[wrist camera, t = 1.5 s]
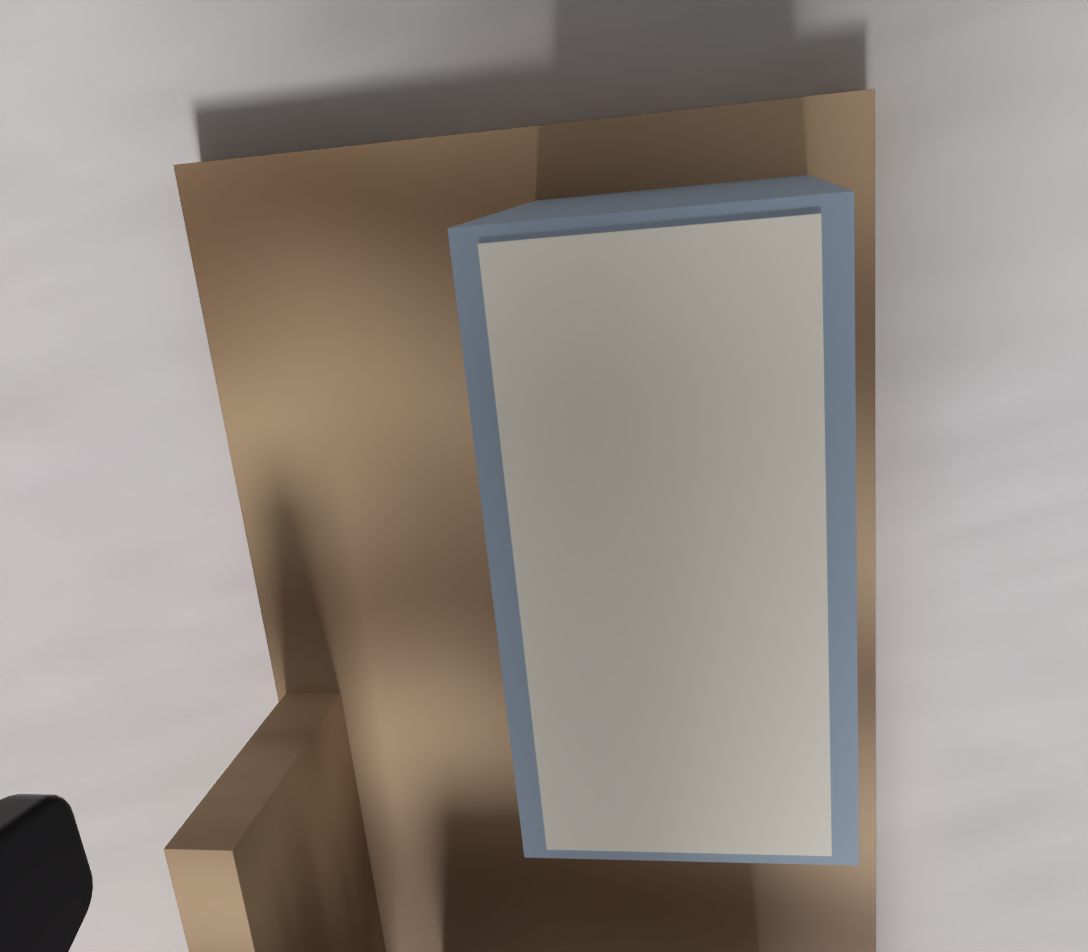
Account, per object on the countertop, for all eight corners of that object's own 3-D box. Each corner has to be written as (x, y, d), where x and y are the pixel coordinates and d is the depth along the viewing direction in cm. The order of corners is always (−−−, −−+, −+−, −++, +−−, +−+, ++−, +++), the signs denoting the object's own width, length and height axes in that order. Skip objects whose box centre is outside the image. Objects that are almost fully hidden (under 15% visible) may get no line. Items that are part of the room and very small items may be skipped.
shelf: (869, 1004, 22) (919, 1291, 17) (354, 979, 25) (246, 1226, 19) (866, 91, 17) (940, 65, 11) (200, 164, 19) (-18, 172, 13)
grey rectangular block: (807, 174, 16) (855, 191, 11) (816, 651, 19) (860, 869, 13) (535, 200, 17) (445, 228, 12) (578, 654, 20) (523, 861, 14)
